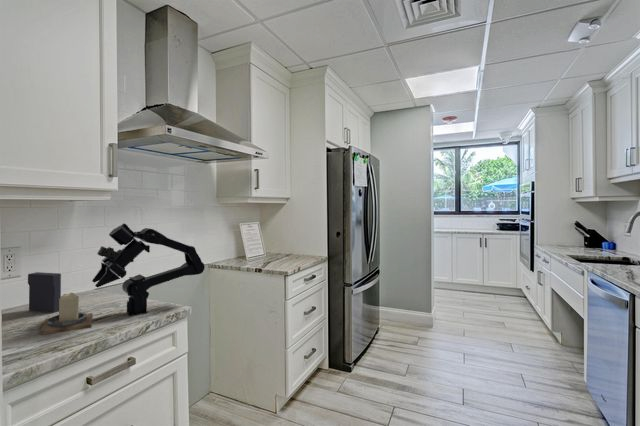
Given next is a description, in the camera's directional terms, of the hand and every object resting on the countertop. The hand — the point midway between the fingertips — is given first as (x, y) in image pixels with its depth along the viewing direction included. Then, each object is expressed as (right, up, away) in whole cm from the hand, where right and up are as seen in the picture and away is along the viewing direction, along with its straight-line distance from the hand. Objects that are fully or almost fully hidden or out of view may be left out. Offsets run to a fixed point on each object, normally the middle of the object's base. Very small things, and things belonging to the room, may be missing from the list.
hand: (94, 284), depth 122 cm
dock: (-6, -13, -5) cm, 15 cm away
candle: (-6, -13, -5) cm, 15 cm away
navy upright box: (-26, -13, +9) cm, 30 cm away
